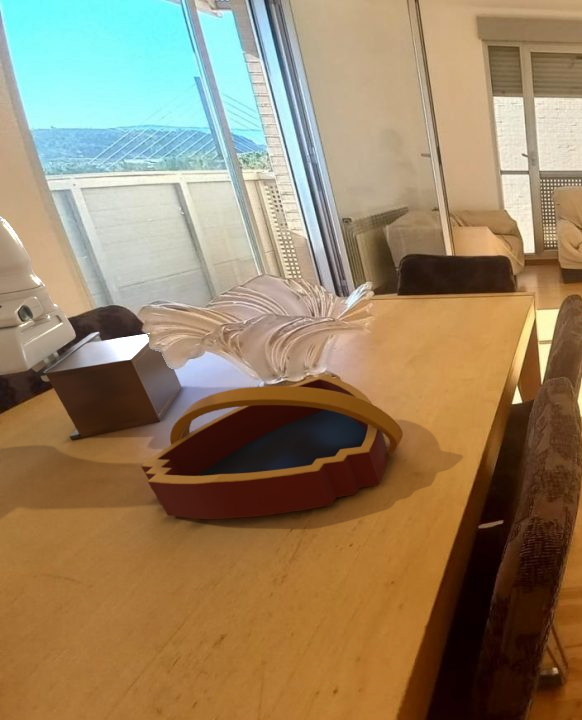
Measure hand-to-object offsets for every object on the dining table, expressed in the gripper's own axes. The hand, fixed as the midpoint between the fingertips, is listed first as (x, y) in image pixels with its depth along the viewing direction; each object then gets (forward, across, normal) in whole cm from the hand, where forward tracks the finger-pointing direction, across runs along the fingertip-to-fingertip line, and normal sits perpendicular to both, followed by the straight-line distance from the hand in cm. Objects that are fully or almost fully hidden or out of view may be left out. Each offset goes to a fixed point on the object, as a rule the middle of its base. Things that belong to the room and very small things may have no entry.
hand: (54, 378), depth 87 cm
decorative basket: (+10, +39, +37) cm, 55 cm away
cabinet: (+10, -4, +8) cm, 13 cm away
